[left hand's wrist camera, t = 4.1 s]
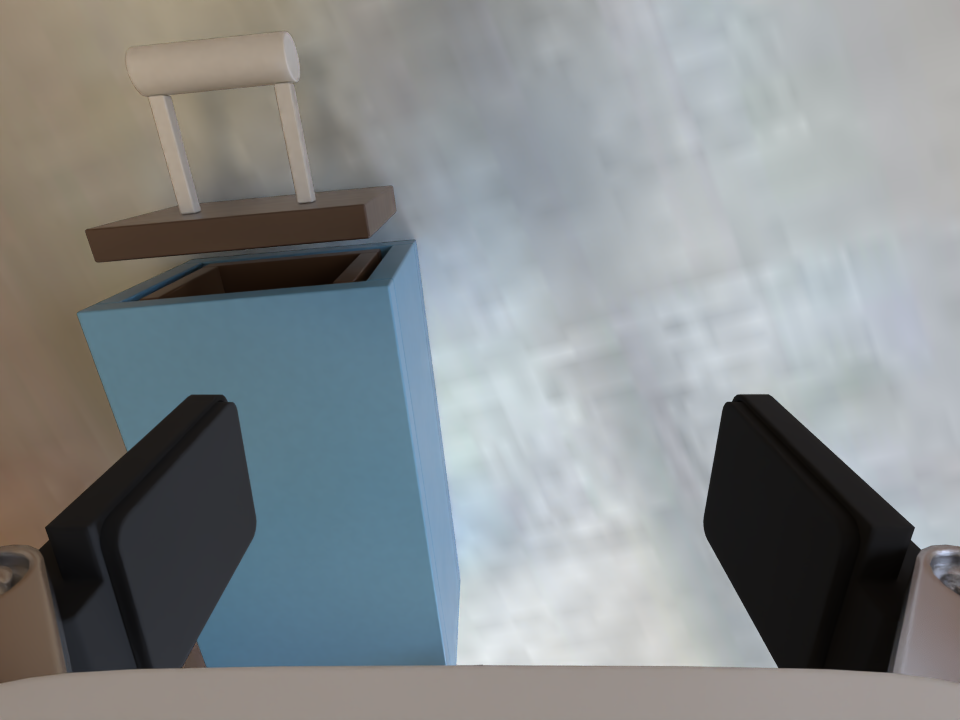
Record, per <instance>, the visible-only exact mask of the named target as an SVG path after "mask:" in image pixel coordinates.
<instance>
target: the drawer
mask: <svg viewBox="0 0 960 720" xmlns="http://www.w3.org/2000/svg"><path fill="white" fill-rule="evenodd" d="M125 61H126V67H127V71H128V74H129V77H130V79H131V81H132V83H133V85H134V86H135V88H136V89H137V90H138V92H139V93H141V94H142V95H143V96H146V97H149V102H150V106H151V109H152V113H153V116H154V120H155V124H156V127H157V131H158V134H159V138H160V142H161V145H162V149H163V152H164V156H165V160H166V163H167V167H168V170H169V174H170V178H171V181H172V185H173V188H174V192H175V196H176V199H177V203H178V206H174V207H170V208H167V209H163V210H159V211H155V212H151V213H147V214H143V215H140V216H136V217H132V218H128V219H124V220H120V221H117V222H113V223H109V224H105V225H101V226H97V227H93V228H90V229H86V230H85V232H86V235H87V238H88V241H89V244H90V247H91V250H92V253H93V256H94V259H95V261H96V262H98V263H99V262H110V261H121V260H132V259H143V258H154V257H166V256H177V255H188V254H199V253H210V252H221V251H232V250H244V249H255V248H266V247H277V246H288V245H299V244H310V243H322V242H333V241H344V240H355V239H366V238H370V237H371V236H372V235H373V234H374V233H375V232H376V231H377V230H378V229H379V228H380V227H381V226H382V225H383V224H384V223H385V222H386V221H387V220H388V219H389V218H390V217H391V216H392V215H393V214H394V213H395V212H396V205H395V198H394V191H393V186H381V187H371V188H360V189H349V190H338V191H328V192H317V193H315V192H314V186H313V181H312V176H311V170H310V165H309V160H308V155H307V149H306V144H305V139H304V134H303V128H302V123H301V118H300V113H299V107H298V102H297V97H296V91H295V86H294V84H293V83H294V82H298V81H299V78H300V63H299V57H298V53H297V49H296V46H295V43H294V41H293V39H292V37H291V35H290V34H289V33H288V32H287V31H280V32H270V33H260V34H251V35H241V36H231V37H222V38H212V39H202V40H193V41H183V42H173V43H164V44H154V45H144V46H135V47H130V48H129V49H128V50H127V52H126V56H125ZM264 85H274V88H275V93H276V98H277V103H278V108H279V113H280V118H281V123H282V128H283V133H284V138H285V143H286V148H287V153H288V158H289V163H290V168H291V173H292V178H293V182H294V187H295V192H296V194H295V195H285V196H274V197H263V198H252V199H242V200H231V201H220V202H209V203H199V201H198V197H197V193H196V189H195V185H194V182H193V178H192V174H191V170H190V166H189V163H188V159H187V155H186V151H185V148H184V144H183V140H182V136H181V132H180V129H179V125H178V121H177V117H176V113H175V110H174V106H173V102H172V98H171V96H168V95H174V94H184V93H194V92H204V91H214V90H224V89H234V88H244V87H254V86H264ZM381 261H382V256H381V250H380V249H370V250H359V251H348V252H336V253H325V254H314V255H303V256H291V257H280V258H269V259H258V260H246V261H235V262H224V263H213V264H208V265H206V266H204V267H203V268H201V269H199V270H197V271H195V272H193V273H191V274H189V275H187V276H185V277H183V278H181V279H179V280H177V281H175V282H173V283H171V284H169V285H167V286H165V287H163V288H161V289H159V290H157V291H155V292H153V293H151V294H149V295H147V296H145V297H143V298H141V299H140V301H143V300H155V299H166V298H178V297H189V296H201V295H212V294H224V293H235V292H247V291H258V290H270V289H281V288H293V287H304V286H316V285H327V284H339V283H350V282H362V281H367V279H368V278H369V277H370V275H371V274H372V273H373V271H374V270H375V269H376V267H377V266H378V265H379V263H380V262H381Z"/></svg>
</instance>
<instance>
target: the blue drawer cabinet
mask: <svg viewBox="0 0 960 720" xmlns="http://www.w3.org/2000/svg"><path fill="white" fill-rule="evenodd" d="M370 249H380V250H381V256H382V261H381V262H380V263H379V265H378V266H377V267H376V269H375V270H374V271H373V273H372V274H371V275H370V277H369V278H368V279H367V281H362V282H350V283H339V284H327V285H316V286H304V287H293V288H281V289H270V290H258V291H247V292H235V293H224V294H212V295H201V296H189V297H178V298H166V299H155V300H143V301H140V299H141V298H143V297H145V296H147V295H149V294H151V293H153V292H155V291H157V290H159V289H161V288H163V287H165V286H167V285H169V284H171V283H173V282H175V281H177V280H179V279H181V278H183V277H185V276H187V275H189V274H191V273H193V272H195V271H197V270H199V269H201V268H203V267H204V266H206V265H208V264H213V263H224V262H235V261H246V260H258V259H269V258H280V257H291V256H303V255H314V254H325V253H336V252H348V251H359V250H370ZM77 316H78V319H79V322H80V324H81V327H82V330H83V333H84V335H85V338H86V341H87V343H88V346H89V349H90V352H91V354H92V357H93V360H94V362H95V365H96V368H97V371H98V373H99V376H100V379H101V382H102V384H103V387H104V390H105V392H106V395H107V398H108V401H109V403H110V406H111V409H112V412H113V414H114V417H115V420H116V422H117V425H118V428H119V431H120V433H121V436H122V439H123V441H124V444H125V447H126V450H127V452H128V451H129V450H130V449H131V448H132V447H134V446H135V445H136V444H137V443H138V442H139V441H140V440H141V439H142V438H143V437H144V436H146V435H147V434H148V433H149V432H150V431H151V430H152V429H153V428H154V427H155V426H156V425H158V424H159V423H160V422H161V421H162V420H163V419H164V418H165V417H166V416H167V415H168V414H170V413H171V412H172V411H173V410H174V409H175V408H176V407H177V406H178V405H179V404H180V403H182V402H183V401H184V400H185V399H186V398H187V397H188V396H190V395H191V394H220V395H224V396H225V397H226V399H227V401H228V402H233V403H235V405H236V407H237V410H238V416H239V422H240V427H241V433H242V439H243V444H244V450H245V456H246V462H247V467H248V473H249V479H250V484H251V490H252V496H253V502H254V507H255V513H256V520H257V523H256V532H255V535H254V538H253V540H252V542H251V543H250V545H249V547H248V549H247V551H246V552H245V554H244V556H243V558H242V560H241V561H240V563H239V565H238V567H237V569H236V570H235V572H234V574H233V576H232V578H231V580H230V581H229V583H228V585H227V587H226V589H225V590H224V592H223V594H222V596H221V598H220V599H219V601H218V603H217V605H216V607H215V608H214V610H213V612H212V614H211V616H210V617H209V619H208V621H207V623H206V625H205V626H204V628H203V630H202V632H201V634H200V636H199V637H198V639H197V643H198V646H199V648H200V651H201V654H202V657H203V659H204V662H205V665H206V667H207V668H219V667H271V666H442V665H456V659H457V639H458V618H459V597H460V575H459V567H458V559H457V552H456V544H455V536H454V529H453V521H452V513H451V506H450V498H449V490H448V482H447V475H446V467H445V459H444V452H443V444H442V436H441V429H440V421H439V413H438V406H437V398H436V390H435V382H434V375H433V367H432V359H431V352H430V344H429V336H428V329H427V321H426V313H425V306H424V298H423V290H422V283H421V275H420V267H419V259H418V252H417V244H416V240H406V241H394V242H383V243H372V244H361V245H350V246H338V247H327V248H316V249H305V250H294V251H283V252H271V253H260V254H249V255H238V256H227V257H215V258H204V259H193V260H190V261H188V262H186V263H184V264H182V265H179V266H177V267H175V268H173V269H171V270H169V271H166V272H164V273H162V274H160V275H158V276H155V277H153V278H151V279H149V280H147V281H145V282H142V283H140V284H138V285H136V286H134V287H132V288H129V289H127V290H125V291H123V292H121V293H118V294H116V295H114V296H112V297H110V298H108V299H105V300H103V301H101V302H99V303H97V304H95V305H92V306H90V307H88V308H86V309H84V310H81V311H79V312H77Z"/></svg>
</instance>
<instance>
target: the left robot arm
mask: <svg viewBox="0 0 960 720" xmlns="http://www.w3.org/2000/svg"><path fill="white" fill-rule="evenodd" d="M256 523H257V520H256V513H255V507H254V502H253V496H252V490H251V484H250V479H249V473H248V467H247V462H246V456H245V450H244V444H243V439H242V433H241V427H240V422H239V416H238V410H237V407H236V405H235V403H233V402H228V401H227V399H226V397H225V396H224V395H220V394H191V395H190V396H188V397H187V398H186V399H185V400H184V401H183V402H182V403H180V404H179V405H178V406H177V407H176V408H175V409H174V410H173V411H172V412H171V413H170V414H168V415H167V416H166V417H165V418H164V419H163V420H162V421H161V422H160V423H159V424H158V425H156V426H155V427H154V428H153V429H152V430H151V431H150V432H149V433H148V434H147V435H146V436H144V437H143V438H142V439H141V440H140V441H139V442H138V443H137V444H136V445H135V446H134V447H132V448H131V449H130V450H129V451H128V452H127V453H126V454H125V455H124V456H123V457H122V458H120V459H119V460H118V461H117V462H116V463H115V464H114V465H113V466H112V467H111V468H110V469H108V470H107V471H106V472H105V473H104V474H103V475H102V476H101V477H100V478H99V479H98V480H96V481H95V482H94V483H93V484H92V485H91V486H90V487H89V488H88V489H87V490H86V491H84V492H83V493H82V494H81V495H80V496H79V497H78V498H77V499H76V500H75V501H74V502H72V503H71V504H70V505H69V506H68V507H67V508H66V509H65V510H64V511H63V512H62V513H60V514H59V515H58V516H57V517H56V518H55V519H54V520H53V521H52V522H51V523H50V524H48V525H47V526H46V527H45V529H46V532H47V534H48V537H49V541H48V542H47V543H46V544H45V545H43V546H42V547H41V548H40V549H39V550H38V549H36V548H33V547H31V546H26V545H8V546H1V547H0V720H960V547H959V546H952V545H934V546H929V547H927V548H924V549H922V550H921V549H920V548H919V547H918V546H917V545H915V544H914V543H913V542H912V541H911V537H912V534H913V532H914V529H915V527H914V526H913V525H912V524H910V523H909V522H908V521H907V520H906V519H905V518H904V517H903V516H902V515H901V514H900V513H898V512H897V511H896V510H895V509H894V508H893V507H892V506H891V505H890V504H889V503H888V502H886V501H885V500H884V499H883V498H882V497H881V496H880V495H879V494H878V493H877V492H876V491H874V490H873V489H872V488H871V487H870V486H869V485H868V484H867V483H866V482H865V481H864V480H862V479H861V478H860V477H859V476H858V475H857V474H856V473H855V472H854V471H853V470H852V469H850V468H849V467H848V466H847V465H846V464H845V463H844V462H843V461H842V460H841V459H840V458H838V457H837V456H836V455H835V454H834V453H833V452H832V451H831V450H830V449H829V448H828V447H826V446H825V445H824V444H823V443H822V442H821V441H820V440H819V439H818V438H817V437H816V436H814V435H813V434H812V433H811V432H810V431H809V430H808V429H807V428H806V427H805V426H804V425H802V424H801V423H800V422H799V421H798V420H797V419H796V418H795V417H794V416H793V415H792V414H790V413H789V412H788V411H787V410H786V409H785V408H784V407H783V406H782V405H781V404H780V403H778V402H777V401H776V400H775V399H774V398H773V397H772V396H770V395H769V394H740V395H736V396H735V397H734V399H733V401H732V402H727V403H725V405H724V407H723V410H722V416H721V422H720V427H719V433H718V439H717V444H716V450H715V456H714V462H713V467H712V473H711V479H710V484H709V490H708V496H707V502H706V507H705V513H704V520H703V523H704V532H705V535H706V538H707V540H708V542H709V543H710V545H711V547H712V549H713V551H714V552H715V554H716V556H717V558H718V560H719V561H720V563H721V565H722V567H723V569H724V570H725V572H726V574H727V576H728V578H729V580H730V581H731V583H732V585H733V587H734V589H735V590H736V592H737V594H738V596H739V598H740V599H741V601H742V603H743V605H744V607H745V608H746V610H747V612H748V614H749V616H750V617H751V619H752V621H753V623H754V625H755V626H756V628H757V630H758V632H759V634H760V636H761V637H762V639H763V641H764V643H765V645H766V646H767V648H768V650H769V652H770V654H771V655H772V657H773V659H774V661H775V663H776V664H777V666H778V668H741V667H689V666H518V665H442V666H271V667H219V668H182V666H183V664H184V663H185V661H186V659H187V657H188V655H189V654H190V652H191V650H192V648H193V646H194V645H195V643H196V641H197V639H198V637H199V636H200V634H201V632H202V630H203V628H204V626H205V625H206V623H207V621H208V619H209V617H210V616H211V614H212V612H213V610H214V608H215V607H216V605H217V603H218V601H219V599H220V598H221V596H222V594H223V592H224V590H225V589H226V587H227V585H228V583H229V581H230V580H231V578H232V576H233V574H234V572H235V570H236V569H237V567H238V565H239V563H240V561H241V560H242V558H243V556H244V554H245V552H246V551H247V549H248V547H249V545H250V543H251V542H252V540H253V538H254V535H255V532H256Z"/></svg>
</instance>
